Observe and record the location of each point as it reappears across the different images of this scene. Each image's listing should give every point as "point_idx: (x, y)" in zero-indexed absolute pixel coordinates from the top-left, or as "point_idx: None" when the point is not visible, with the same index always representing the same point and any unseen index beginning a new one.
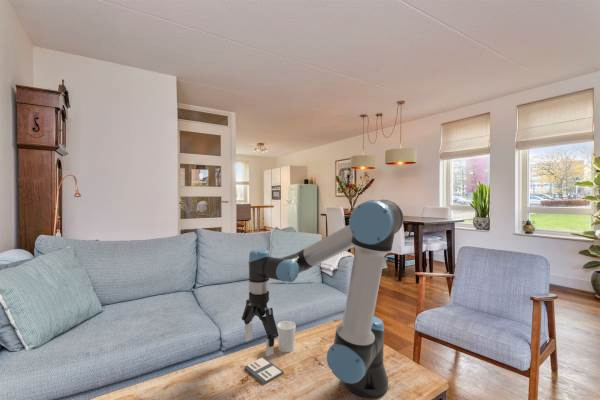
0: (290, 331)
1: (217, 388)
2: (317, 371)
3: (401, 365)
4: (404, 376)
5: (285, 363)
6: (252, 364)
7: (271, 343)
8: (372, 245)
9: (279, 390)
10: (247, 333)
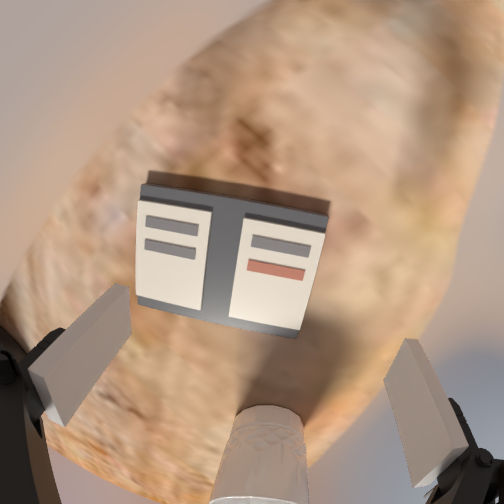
0: (213, 491)
1: (312, 20)
2: None
3: None
4: None
5: (191, 356)
6: (298, 255)
7: (39, 348)
8: None
9: (80, 205)
10: (420, 388)
